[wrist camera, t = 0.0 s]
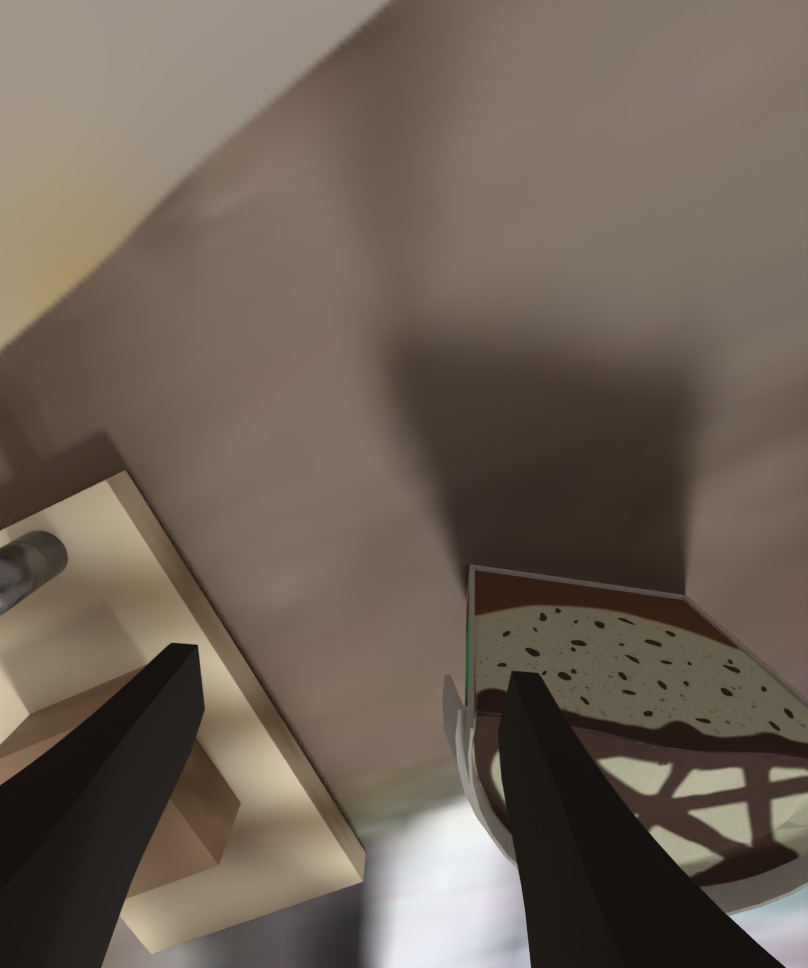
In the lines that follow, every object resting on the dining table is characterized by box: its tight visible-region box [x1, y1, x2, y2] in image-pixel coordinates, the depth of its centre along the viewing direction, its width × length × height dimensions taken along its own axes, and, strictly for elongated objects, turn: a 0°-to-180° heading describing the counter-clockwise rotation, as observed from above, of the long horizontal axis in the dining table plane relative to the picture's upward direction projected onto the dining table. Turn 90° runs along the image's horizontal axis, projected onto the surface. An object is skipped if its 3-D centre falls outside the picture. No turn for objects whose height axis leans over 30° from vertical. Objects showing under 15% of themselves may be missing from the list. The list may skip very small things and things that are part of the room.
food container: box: [442, 564, 808, 915], centre depth 20 cm, size 12×6×10 cm, turn 82°
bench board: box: [0, 470, 366, 954], centre depth 25 cm, size 22×12×2 cm, turn 25°
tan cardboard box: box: [0, 665, 241, 899], centre depth 23 cm, size 8×6×3 cm
